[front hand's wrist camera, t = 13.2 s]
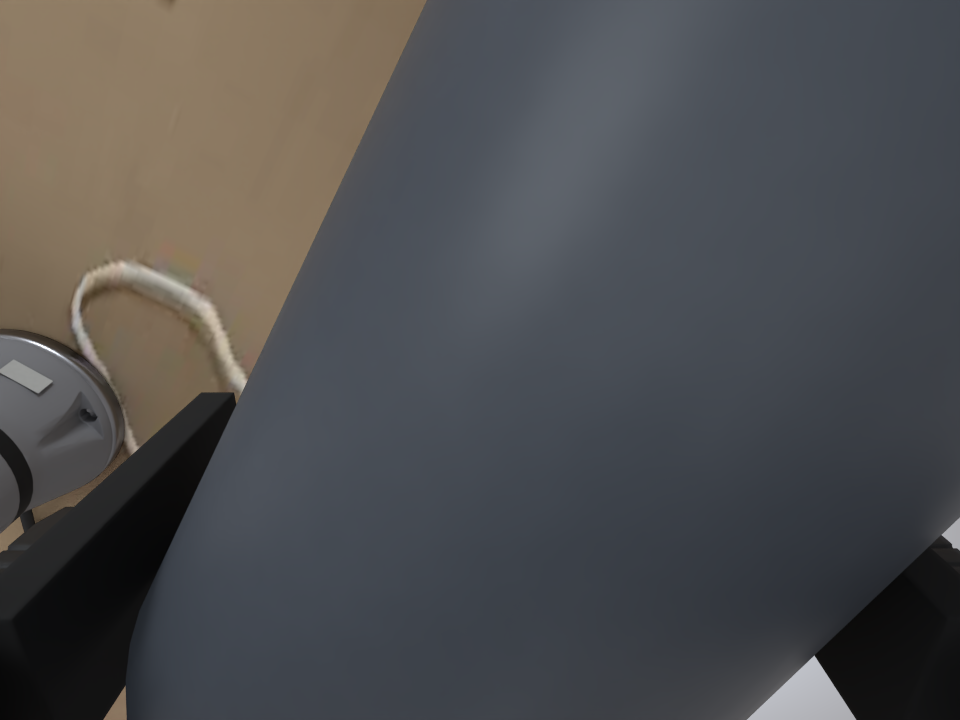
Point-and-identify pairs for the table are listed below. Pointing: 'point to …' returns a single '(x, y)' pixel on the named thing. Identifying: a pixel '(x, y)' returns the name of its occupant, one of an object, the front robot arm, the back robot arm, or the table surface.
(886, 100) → the rod
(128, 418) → the table surface
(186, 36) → the table surface
